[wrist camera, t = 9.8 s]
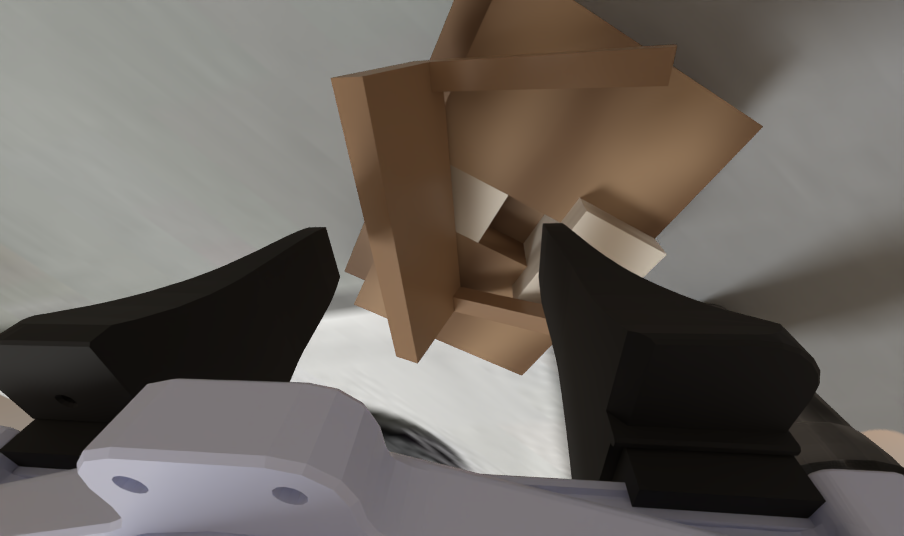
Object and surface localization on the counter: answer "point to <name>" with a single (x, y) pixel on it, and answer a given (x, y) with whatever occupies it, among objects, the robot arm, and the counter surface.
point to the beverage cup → (835, 442)
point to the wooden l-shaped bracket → (448, 172)
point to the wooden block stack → (559, 164)
